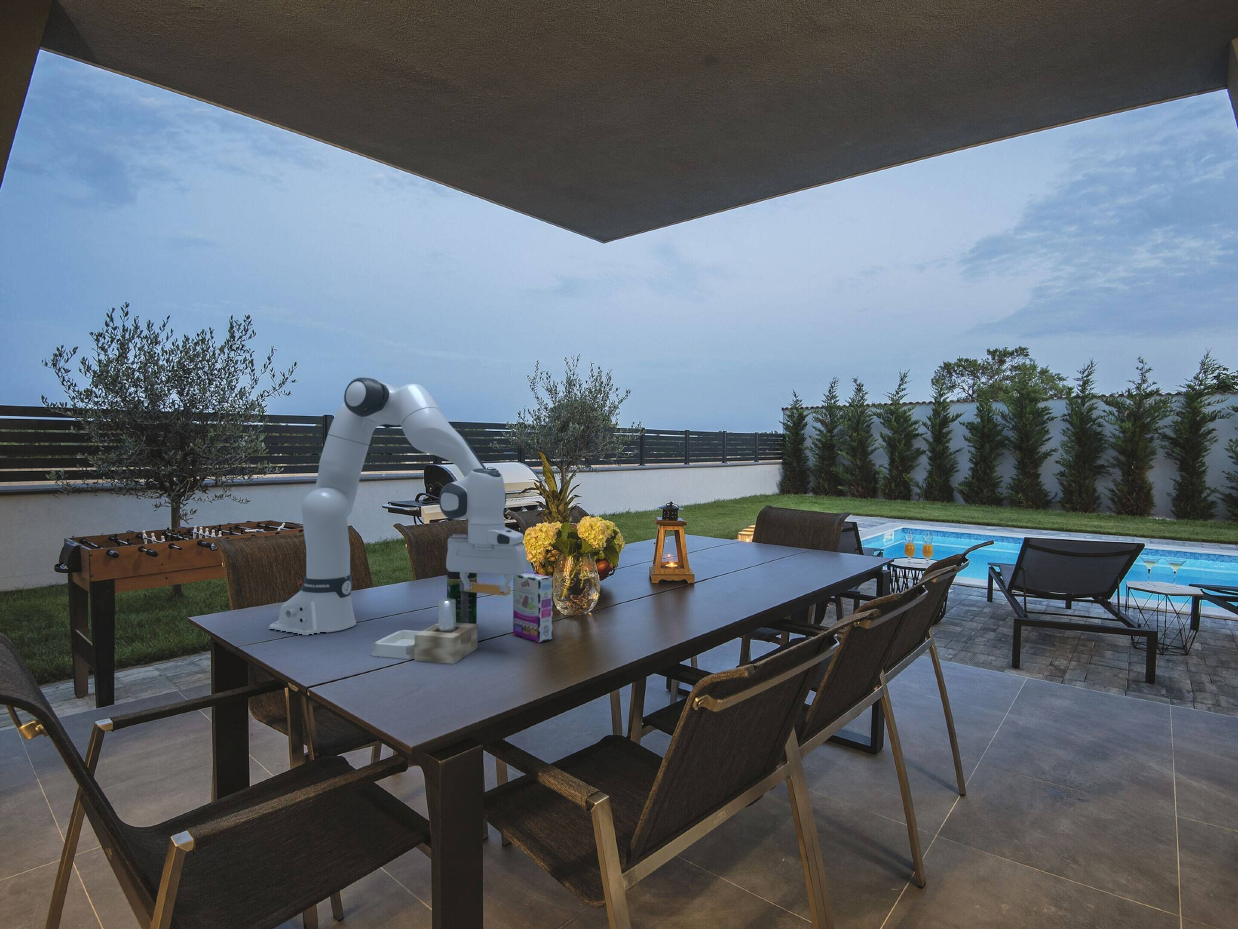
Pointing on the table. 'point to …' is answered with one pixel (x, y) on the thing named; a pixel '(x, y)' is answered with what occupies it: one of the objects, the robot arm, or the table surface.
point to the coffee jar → (455, 593)
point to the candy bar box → (533, 607)
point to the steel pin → (447, 615)
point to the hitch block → (447, 640)
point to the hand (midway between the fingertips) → (486, 591)
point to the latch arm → (485, 588)
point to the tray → (396, 645)
